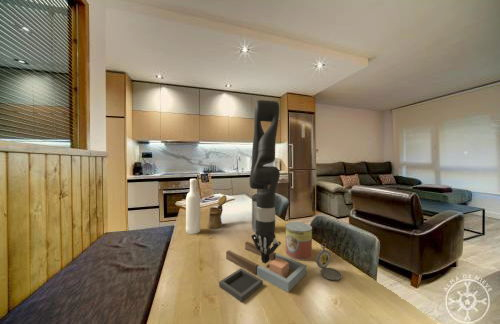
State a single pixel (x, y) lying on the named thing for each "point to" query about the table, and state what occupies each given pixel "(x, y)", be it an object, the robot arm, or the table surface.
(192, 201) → the bottle
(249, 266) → the wooden bars
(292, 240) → the canned food
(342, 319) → the table surface
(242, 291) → the dark gray tray
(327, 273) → the pocket watch
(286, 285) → the slate bay
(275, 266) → the terracotta block
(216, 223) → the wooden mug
